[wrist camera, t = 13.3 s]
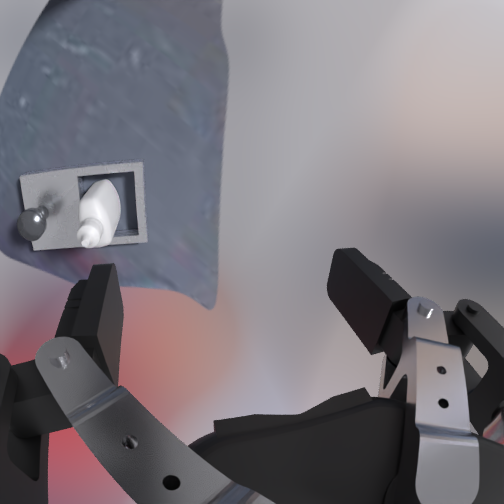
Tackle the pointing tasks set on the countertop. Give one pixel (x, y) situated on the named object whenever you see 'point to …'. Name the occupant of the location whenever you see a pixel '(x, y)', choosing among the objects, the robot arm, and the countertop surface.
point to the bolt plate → (72, 204)
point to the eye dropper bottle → (98, 215)
